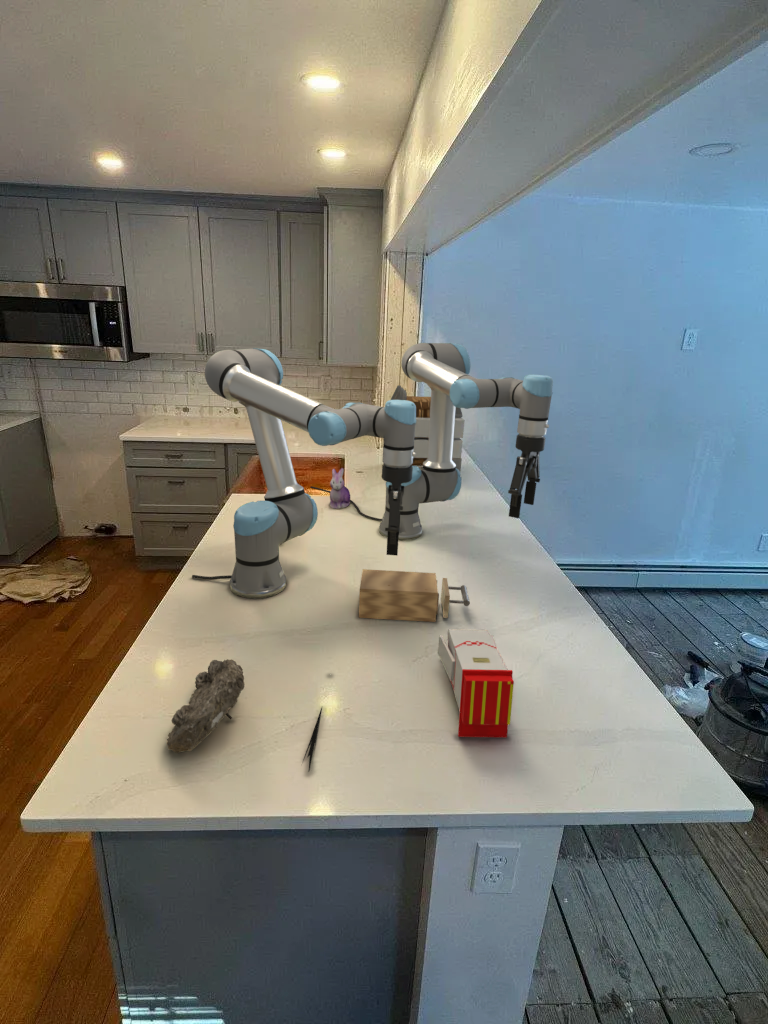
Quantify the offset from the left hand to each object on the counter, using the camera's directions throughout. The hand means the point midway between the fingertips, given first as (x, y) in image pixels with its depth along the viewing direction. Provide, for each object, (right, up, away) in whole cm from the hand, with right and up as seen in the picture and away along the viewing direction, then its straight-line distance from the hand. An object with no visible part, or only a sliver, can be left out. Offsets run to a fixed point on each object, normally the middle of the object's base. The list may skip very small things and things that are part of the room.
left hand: (393, 543), depth 147 cm
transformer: (+15, +27, +128) cm, 132 cm away
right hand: (+36, +9, +11) cm, 39 cm away
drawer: (+8, -17, +3) cm, 19 cm away
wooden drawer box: (+1, -17, +3) cm, 18 cm away
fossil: (-35, -31, -38) cm, 61 cm away
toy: (+16, -29, -28) cm, 43 cm away
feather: (-15, -32, -38) cm, 51 cm away
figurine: (-20, +11, +79) cm, 82 cm away
